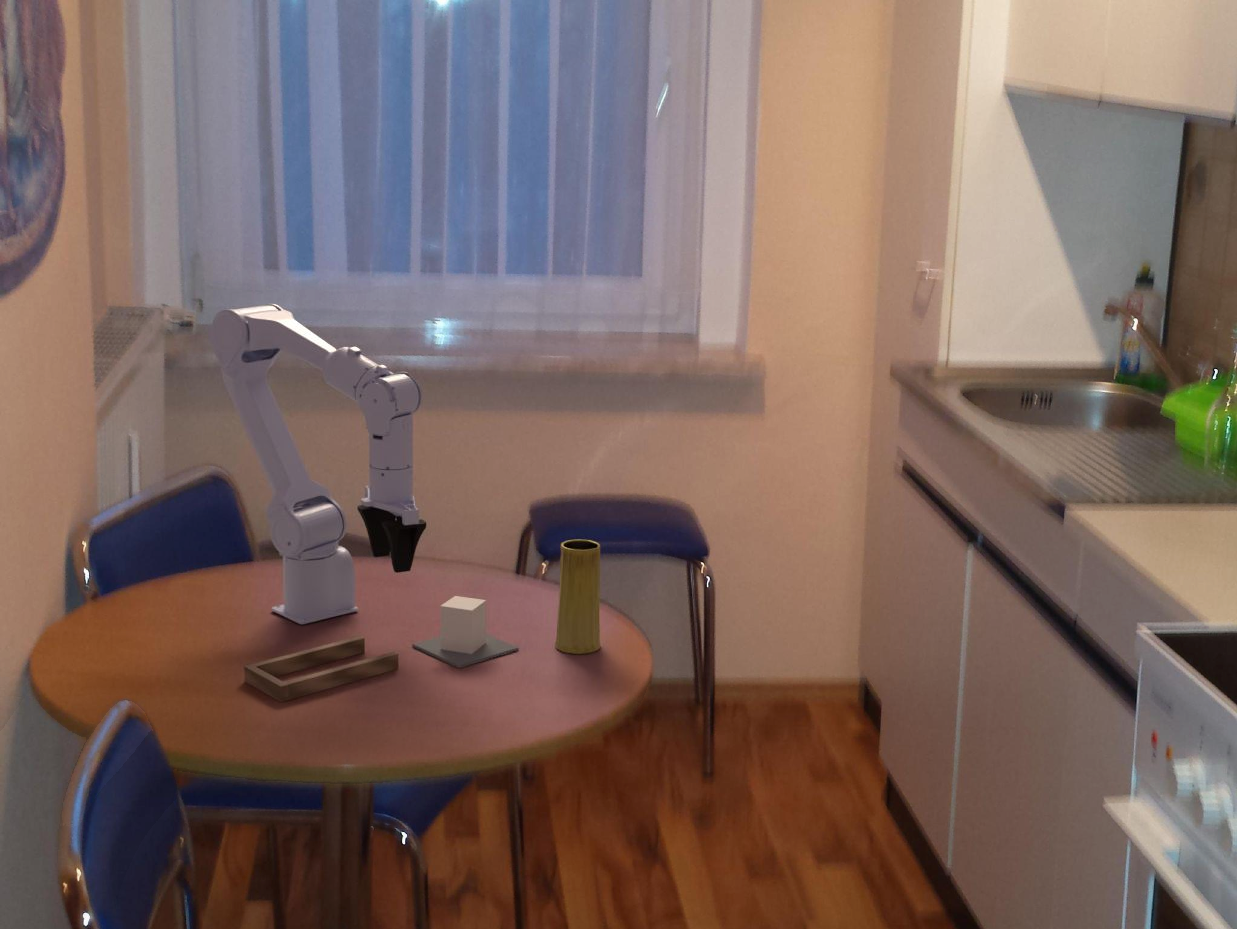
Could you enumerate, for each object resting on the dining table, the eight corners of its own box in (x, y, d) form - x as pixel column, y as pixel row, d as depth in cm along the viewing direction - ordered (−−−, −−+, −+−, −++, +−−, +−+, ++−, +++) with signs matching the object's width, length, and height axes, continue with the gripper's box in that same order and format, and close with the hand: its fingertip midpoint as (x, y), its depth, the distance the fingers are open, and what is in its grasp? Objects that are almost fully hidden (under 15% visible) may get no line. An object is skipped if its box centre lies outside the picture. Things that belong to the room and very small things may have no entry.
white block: (454, 638, 191) (455, 595, 190) (485, 642, 190) (486, 600, 189) (440, 649, 187) (440, 605, 186) (471, 654, 186) (472, 610, 185)
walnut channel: (360, 650, 187) (360, 635, 187) (398, 668, 181) (398, 653, 181) (244, 681, 175) (244, 666, 175) (281, 702, 170) (280, 686, 169)
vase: (610, 647, 191) (613, 545, 188) (577, 658, 187) (580, 554, 183) (577, 635, 195) (580, 535, 192) (545, 646, 191) (547, 544, 187)
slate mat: (471, 630, 196) (471, 627, 196) (518, 650, 189) (518, 647, 189) (412, 646, 189) (412, 643, 189) (458, 668, 182) (459, 665, 182)
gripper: (343, 456, 193) (344, 552, 196) (382, 480, 180) (383, 582, 183) (392, 452, 196) (393, 546, 199) (434, 475, 184) (433, 575, 187)
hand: (391, 563), depth 192 cm, fingers open, 7 cm apart
